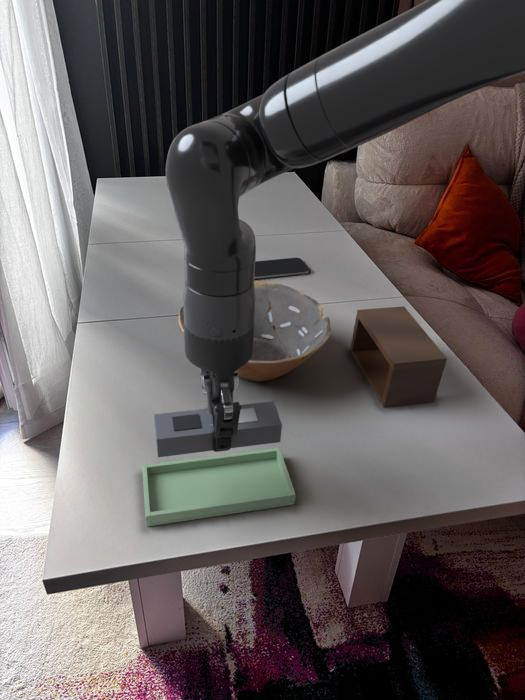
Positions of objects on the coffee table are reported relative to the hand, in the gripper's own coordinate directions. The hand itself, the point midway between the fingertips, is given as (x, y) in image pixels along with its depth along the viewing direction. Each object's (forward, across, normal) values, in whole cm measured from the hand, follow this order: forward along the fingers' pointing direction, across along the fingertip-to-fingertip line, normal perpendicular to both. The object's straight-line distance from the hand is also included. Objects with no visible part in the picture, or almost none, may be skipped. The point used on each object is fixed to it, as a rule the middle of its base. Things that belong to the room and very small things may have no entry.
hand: (218, 433), depth 68 cm
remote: (0, 0, 0) cm, 0 cm away
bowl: (+10, +27, -10) cm, 31 cm away
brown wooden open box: (+10, +20, -34) cm, 40 cm away
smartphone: (+10, +61, -23) cm, 66 cm away
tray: (+10, 0, 0) cm, 10 cm away
